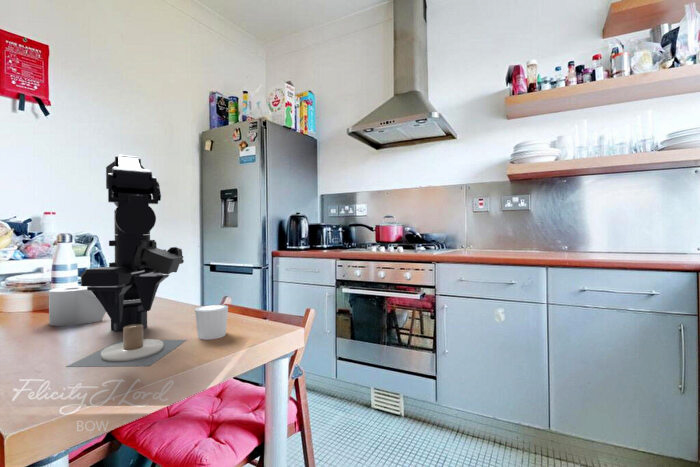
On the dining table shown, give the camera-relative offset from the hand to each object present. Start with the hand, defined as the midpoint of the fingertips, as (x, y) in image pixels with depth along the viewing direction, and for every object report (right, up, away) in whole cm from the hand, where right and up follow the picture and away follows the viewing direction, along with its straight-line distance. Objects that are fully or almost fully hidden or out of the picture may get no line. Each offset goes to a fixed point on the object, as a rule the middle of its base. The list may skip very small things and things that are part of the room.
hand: (133, 316), depth 65 cm
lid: (0, -7, 0) cm, 7 cm away
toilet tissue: (-31, -8, +25) cm, 41 cm away
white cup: (+11, -8, +10) cm, 17 cm away
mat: (0, -8, 0) cm, 8 cm away
